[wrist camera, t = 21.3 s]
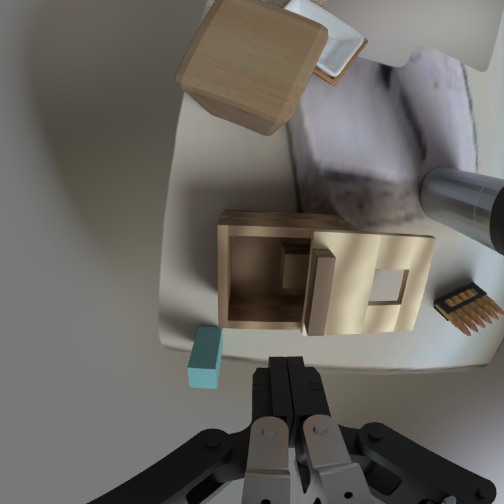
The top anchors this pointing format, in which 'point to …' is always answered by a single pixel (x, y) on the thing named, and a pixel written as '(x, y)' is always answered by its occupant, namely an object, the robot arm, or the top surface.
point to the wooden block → (251, 62)
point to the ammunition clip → (468, 308)
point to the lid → (363, 281)
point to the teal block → (205, 358)
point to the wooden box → (266, 266)
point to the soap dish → (331, 40)
